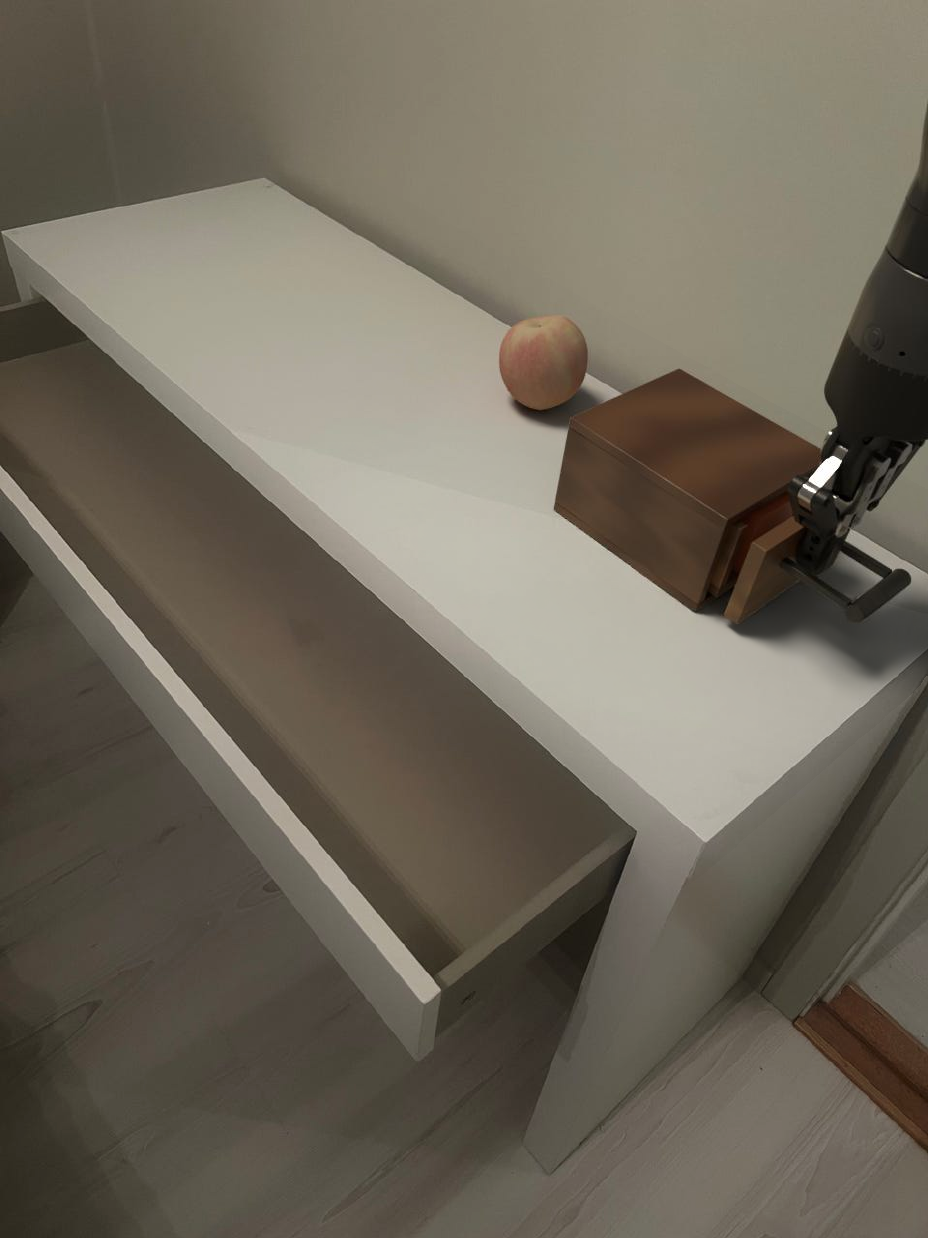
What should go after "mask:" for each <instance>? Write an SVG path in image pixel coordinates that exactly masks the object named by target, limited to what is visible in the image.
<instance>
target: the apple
mask: <svg viewBox="0 0 928 1238" xmlns="http://www.w3.org/2000/svg"><path fill="white" fill-rule="evenodd" d="M588 358H589V353H588V345H587V341H586V338H585V335H584V334H583V332H582V330H581V329H580V327H579V326H577V324H576V323H574V322H573V321H572V320H571V319H570V318H568V317H566V316H563V315H558V314H553V315H546V316H539V317H531V318H526V319H523V320H521V321H520V322H518V323H516V324H514V325H513V326H511V327H510V328H509V329H508V331H507V332H506V333H505V335H504V336H503V338H502V341H501V344H500V346H499V352H498V368H499V374H500V376H501V380H502V382H503V384H504V386H505V388H506V390H507V391H508V393H509V394H510V395H511V396H512V397H513V398H514V399H515V401H517V403H520V404H521V405H523V406H524V407H527V408H530V409H532V410H538V411H542V410H548V409H551V408H554V407H556V406H559V405H562V404H564V403H565V402H567V401H569V400H570V399H571V398H572V397H574V395H576V393H577V392H578V391H579V390H580V388H581V386H582V385H583V383H584V381H585V378H586V373H587V369H588V363H589V362H588V360H589V359H588Z"/></svg>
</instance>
